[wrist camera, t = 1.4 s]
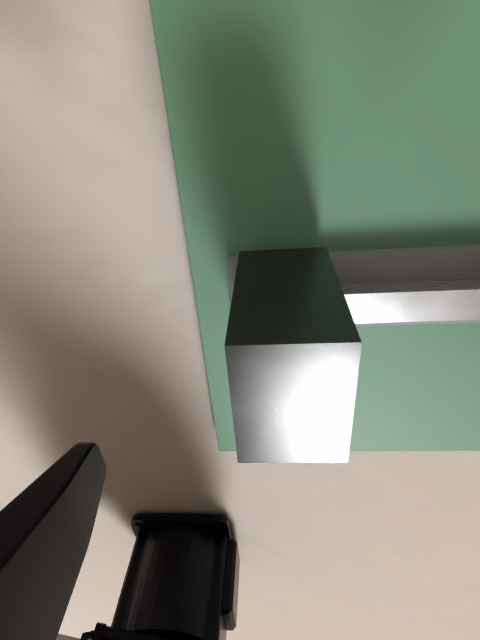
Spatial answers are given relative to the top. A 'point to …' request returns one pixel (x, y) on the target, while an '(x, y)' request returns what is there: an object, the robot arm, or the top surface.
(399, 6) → the pitch
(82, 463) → the robot arm
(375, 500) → the top surface
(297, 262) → the push rod
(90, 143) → the top surface
